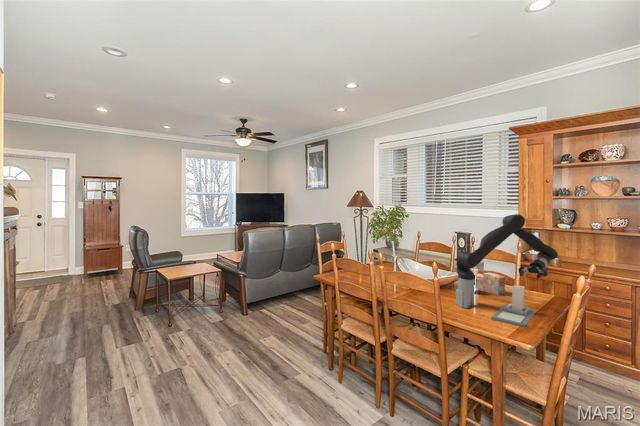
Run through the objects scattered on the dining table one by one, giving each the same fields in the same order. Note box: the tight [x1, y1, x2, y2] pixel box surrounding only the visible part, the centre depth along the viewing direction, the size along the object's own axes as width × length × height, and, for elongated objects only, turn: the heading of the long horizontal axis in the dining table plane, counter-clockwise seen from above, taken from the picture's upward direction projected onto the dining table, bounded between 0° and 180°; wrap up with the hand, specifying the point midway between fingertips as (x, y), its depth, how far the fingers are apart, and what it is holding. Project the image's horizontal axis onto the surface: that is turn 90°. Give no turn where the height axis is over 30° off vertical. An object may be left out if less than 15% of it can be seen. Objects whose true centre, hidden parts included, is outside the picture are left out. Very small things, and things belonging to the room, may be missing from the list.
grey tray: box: [490, 303, 537, 329], centre depth 178 cm, size 28×16×3 cm, turn 136°
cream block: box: [511, 284, 526, 311], centre depth 182 cm, size 5×5×14 cm
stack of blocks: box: [476, 272, 506, 296], centre depth 224 cm, size 21×6×12 cm, turn 23°
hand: (528, 275), depth 185 cm, fingers open, 8 cm apart
